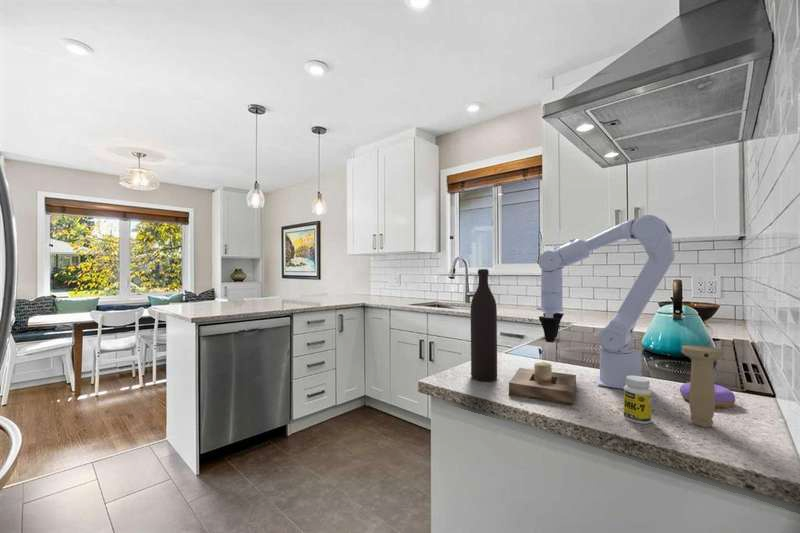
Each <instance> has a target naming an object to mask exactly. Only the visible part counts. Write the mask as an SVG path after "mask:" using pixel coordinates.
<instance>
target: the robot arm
mask: <svg viewBox="0 0 800 533" xmlns="http://www.w3.org/2000/svg"><path fill="white" fill-rule="evenodd" d="M672 234H673V233H672V231H671V229H670V227H669V226H668V224H667V222H665V220H663V219H661V218H659V217H658V216H656V215H653V214H645V215H640V216H639V217H637V218H634V219H633V218H632V219H629V220H627V221H624V222H622V223H619V224H618V225H615V226H613V227H611V228H609V229H608V230H604V231H603V232H601V233H599V234H596V235H594V236H593V237H590V238H588V239H586V240H584V239H582V238H577V239H576V238H572V239H570V240H569V242H568V243H566V244H564V245H561V246H555V247H553V250H546V251H544V252H542V253H541V254H540V255H539V257H538V259H537V260H538V262H537V263H538V267H539V268H540V269H541V274H540V275H541V278H540V287H541V288H540V292H541V293H540V294H541V295H540V302H541V303H540V306H537V307H536V310H538V311H542V316H541V315H539V316H538V320H539V322H540V325H541V327H542V330H543V334H544V340H545V342H546V343H555V340H556V338H558V334H559V328H560V324H561V321H562V318H563V317H564V313H563V311H564V308H563V269H564V268H565V267H568V266H570V265H573V264H576V263H578V262H580V261H582V260H586V259H588V258H589V257H590V254H591V252H592V251H595V250H597V249H600V248H603V247H605V246H609V245H611V244H613V243H616V242H619V241H621V240H632V241H633V240H634V241H636V240H638V242H639V243H640V244H642V246H643V249H644V250H645V252H646V254H647V256H648V258H647V260H646V263H644V266H643V268H642V269H641V271H640V273H639V274H638V276H637V278H636V280H635V281H634V283H633V284H632V286H631V289H630V290H629V292H628V293H627V295H626V296H625V298H624V300H623V302H622V304H621V305H620V307H619V309H618V311H617V312H616V314H615V315H614V316H613V317H612V319H610V321H609V322H608V324H607V325H606V326H605V327H603V328H601V329H600V330H599V332H598V335H597V340H598V343H599V345H600V346H599V375H598V376H597V385H598V386H601V387H607V388H615V389H622V390H624V386H625V385H627V384H626V377H627V376H640V377H643V374H642V372H643V371H642V354H641V352H636V351H632V350H633V349H632V348H631V346H630V345H629V344H630V343H631V342H632V341H633V338H634V329H635V327H636V325H637V322H638V320H639V318H640V317H641V316H642V313H643V312H644V311H645V309H646V307H647V305H648V303H649V302H650V300H651V298H652V297H653V295H654V294H655V292H656V290H657V289H658V287H659V285H660V284H661V282H662V280H663V278H665V277H664V276H665V275H666V273H667V272H668V270H669V269H670V267H671V265H672V264H673V262H674V261H675V257H676V255H675V247H674V242H673V235H672Z"/></svg>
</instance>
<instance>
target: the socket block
mask: <svg viewBox="0 0 800 533" xmlns="http://www.w3.org/2000/svg"><path fill="white" fill-rule="evenodd" d="M576 390H577V375H576V374H571V373H561V372H556V371H555V372H554V371H552V384H551V383H544V382H537V381H534V369H531V368H523V367H519V368H518V370H517V371H516V372H515V374H514V375H513V376H512V377H511V379H510V380H509V381H508V396H512V397H513V396H514V397H519V398H524V399H525V398H526V399H531V400H538V401H542V402H543V401H544V402H548V403H549V402H550V403H556V404H561V405H568V406H574V400H575V395H576Z"/></svg>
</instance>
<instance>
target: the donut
mask: <svg viewBox="0 0 800 533" xmlns="http://www.w3.org/2000/svg"><path fill="white" fill-rule="evenodd" d="M714 388H715V408H729V407H731V406H732V405H734V404H735V402H736V396H735V394H734V392H733V391H731V390H730V389H729V388H727V387H724V386H721V385H718V384H715V383H714ZM689 389H690V381H689V382H686V383H682V385H681V386H680V387H679V392H680V395H681V396H682V398H684V399H685V400H686V401H688V402H689Z"/></svg>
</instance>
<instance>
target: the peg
mask: <svg viewBox="0 0 800 533" xmlns="http://www.w3.org/2000/svg"><path fill="white" fill-rule="evenodd" d="M533 366H534V369H533V370H534V381H537V382H544V383H551V384H552V372H553V371H552V370H553V369H552V364H551V363H549V362H545V361H544V362H543V361H538V362H534V364H533Z"/></svg>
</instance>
